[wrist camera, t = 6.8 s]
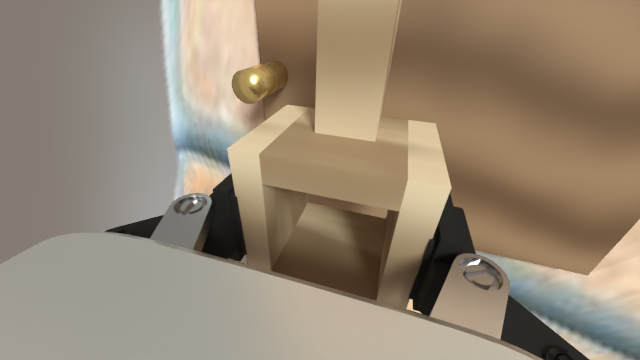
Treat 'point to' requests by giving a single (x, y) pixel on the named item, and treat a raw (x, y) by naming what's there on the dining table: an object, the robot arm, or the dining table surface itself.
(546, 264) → the board
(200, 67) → the dining table surface
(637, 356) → the dining table surface
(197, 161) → the dining table surface
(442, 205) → the square frame with tab
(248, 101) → the dowel pin
